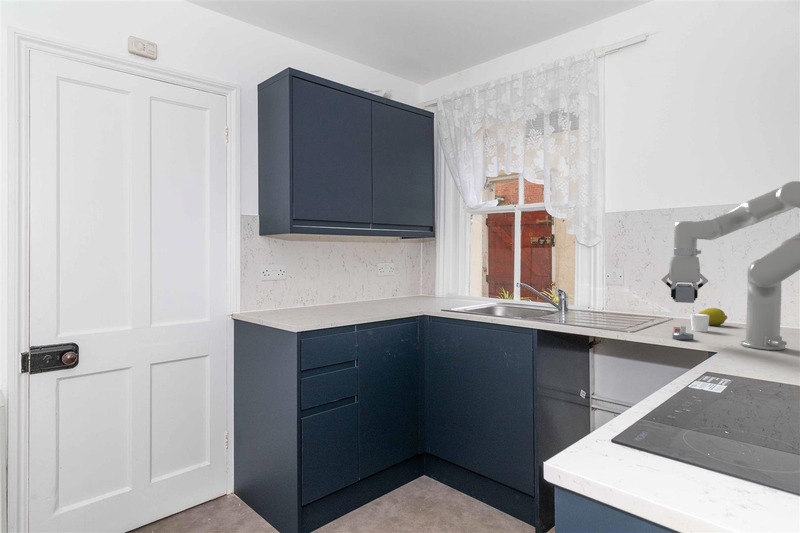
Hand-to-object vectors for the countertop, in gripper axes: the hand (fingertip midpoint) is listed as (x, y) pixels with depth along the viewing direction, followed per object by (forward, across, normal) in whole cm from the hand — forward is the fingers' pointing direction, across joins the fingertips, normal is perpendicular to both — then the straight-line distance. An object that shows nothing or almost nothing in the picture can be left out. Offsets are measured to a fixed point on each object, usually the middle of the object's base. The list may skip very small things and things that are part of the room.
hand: (683, 299), depth 179 cm
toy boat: (+16, 0, -6) cm, 17 cm away
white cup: (+16, -8, -24) cm, 30 cm away
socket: (+1, 0, 0) cm, 1 cm away
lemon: (+16, -16, -43) cm, 48 cm away
